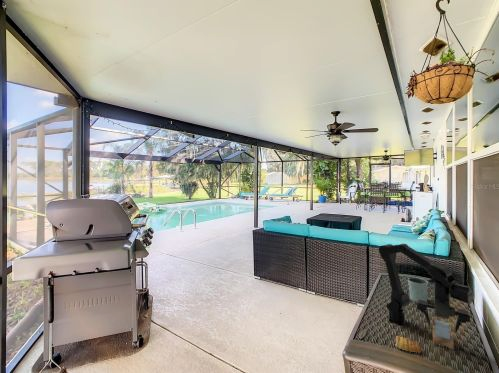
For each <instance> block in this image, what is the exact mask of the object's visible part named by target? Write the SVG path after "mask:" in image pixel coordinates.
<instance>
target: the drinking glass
mask: <svg viewBox="0 0 499 373" xmlns="http://www.w3.org/2000/svg"><path fill="white" fill-rule="evenodd" d="M407 284H408V291H409V299H410V301H412V300H413V301H412V302H415V301H416V302H415V303H417V300H423V301H427V302H428V285H429V281H428V280H426V279H424V278H420V277H408V278H407Z"/></svg>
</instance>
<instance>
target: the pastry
mask: <svg viewBox="0 0 499 373" xmlns="http://www.w3.org/2000/svg"><path fill="white" fill-rule="evenodd" d="M394 346H395V347H396V348H397V349H398V348H399V349H398V350H400V349H402V350H401V351H404V350H406V351H411V352H416V353H415V354H420V353H421V352H422V347H421V346H420V345H419V344H418V343H416V342H415V341H412V340H411V339H408V338H407V337H403V336H398V335H397V336H396V338H395V345H394ZM406 351H405V352H406ZM411 352H410V353H411ZM417 352H418V353H417ZM419 352H420V353H419Z"/></svg>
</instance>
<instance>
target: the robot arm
mask: <svg viewBox="0 0 499 373" xmlns="http://www.w3.org/2000/svg"><path fill="white" fill-rule="evenodd" d="M378 252H379V255H380V257H381V259H382V260H383V261H384V263H385V267H386V271H387V275H388V279H389V280H388V281H389V284H390V288H391V293H390V302H389V303H387V304H386V305H385V306H386V308H387V310H388V322H391V323H393V324H397V325H400V326H403V325H404V324H405V322H406V312H404V309H406V307H407V308H408V307H409V305H410V302H411V299H410V295H409V293H408V292H405V291H404V289H403V286H402V283H401V279H400V275H399V271H398V267H397V262H396V260H397V254H398V253H402V255H404V256H406V257H407V258H409V259H410V260H411V261H414V262H415V263H416V264H418V265H419V266H421V267H423V268H424V269H425V270H426V272H427V273H428V274H429V275H430V276H431V278H430V279H429V280H427V282H428V283H430V284H431V283H432V284H433V301H434V302H433V304H428V300H427V301H423V300H417V302H416V310H418V311H419V312H421V313H422V314H423V315H424V316H425V318H426V321H427V324H428V326H431V317H430V316H431V315H430V310H432V311H434V316H435V317H438V318H442V319H445V320H450V318H453V317H454V318H456V319H455V323H454V324H455V325H454V333H456V334H457V332H458V331H459V328H460V326H461V325H462V324H466V323H471V312H470V311H469V310H467V309H462V308H457V310H456V309H455V307H452V306H451V298H452V299H454V300H456V301H459V302H462V303H466V304H469V305H471V304H472V303H473V302H474V293H473V290H472V287H471V286H469V285H463V284H460V283H459V281H458V280H457V279H456V277H455V276H454V275H453V272H452V270H451V268H450V267H449V266H446V265H444V264H442V263H440V262H437V261H433V260H431V259H429V258H428V257H426V256H425V255H423V254H422V253H420V252H419V251H417V250H415V249H414V248H412V247H411V246H409V245H408V244H407V243H400V244H394V245H393V244H391V243H389V244H384V245H380V246H379V248H378Z"/></svg>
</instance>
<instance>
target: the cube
mask: <svg viewBox="0 0 499 373" xmlns="http://www.w3.org/2000/svg"><path fill="white" fill-rule="evenodd" d="M434 329H435V336H438V337H442V338H445V339H448V340H450V330H451V328H450V323H449V322H446V321H443V320H442V321H441V320H438V319H435V326H434Z"/></svg>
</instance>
